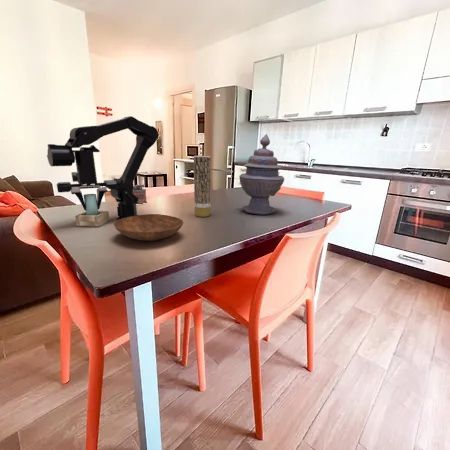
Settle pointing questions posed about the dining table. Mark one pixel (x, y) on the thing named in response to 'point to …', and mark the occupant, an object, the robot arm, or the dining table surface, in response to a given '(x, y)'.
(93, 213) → the peg
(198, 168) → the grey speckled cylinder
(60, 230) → the dining table surface
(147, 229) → the bowl
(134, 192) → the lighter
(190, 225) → the dining table surface
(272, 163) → the decorative urn
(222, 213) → the dining table surface
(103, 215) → the socket
